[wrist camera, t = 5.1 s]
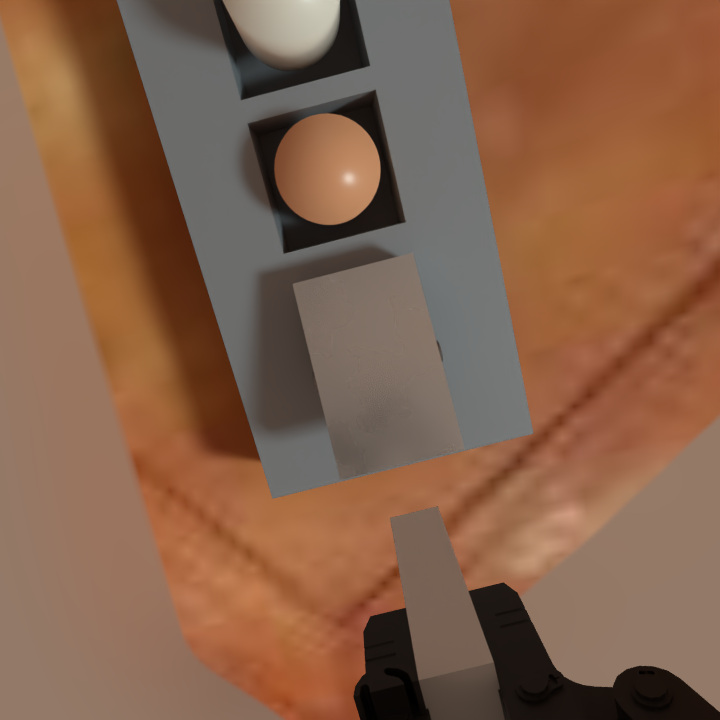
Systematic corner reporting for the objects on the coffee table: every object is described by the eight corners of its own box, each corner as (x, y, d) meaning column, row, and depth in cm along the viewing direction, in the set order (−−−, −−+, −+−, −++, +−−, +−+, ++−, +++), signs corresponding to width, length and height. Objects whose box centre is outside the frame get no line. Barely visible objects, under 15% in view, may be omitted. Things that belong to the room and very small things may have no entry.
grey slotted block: (138, -6, 29) (89, -63, 23) (409, -80, 28) (427, -155, 23) (281, 464, 34) (270, 509, 29) (508, 407, 34) (541, 441, 29)
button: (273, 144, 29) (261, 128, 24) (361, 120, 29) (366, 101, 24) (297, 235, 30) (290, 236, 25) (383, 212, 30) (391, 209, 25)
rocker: (294, 292, 28) (288, 284, 26) (415, 261, 28) (416, 251, 26) (339, 476, 27) (335, 481, 25) (463, 445, 27) (469, 447, 25)
